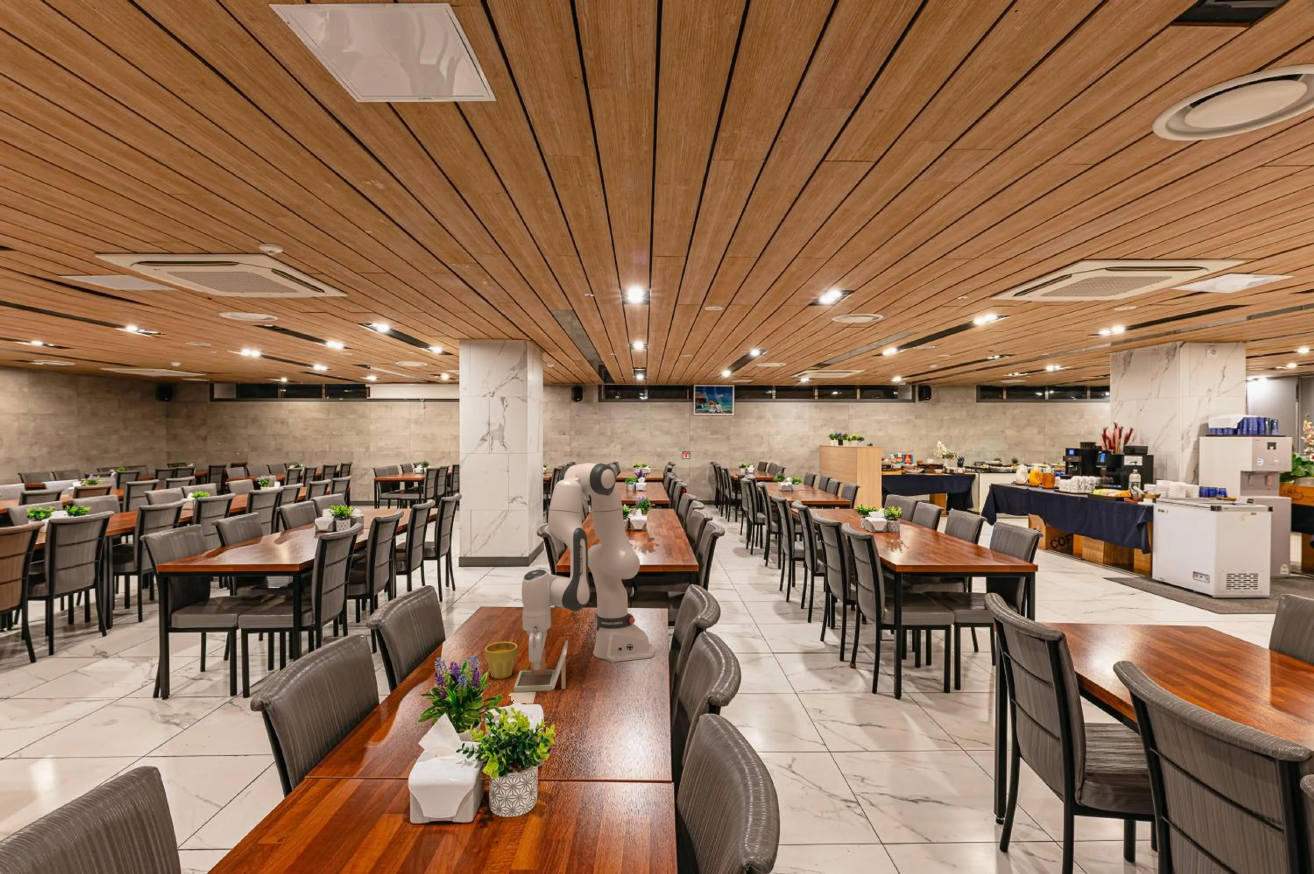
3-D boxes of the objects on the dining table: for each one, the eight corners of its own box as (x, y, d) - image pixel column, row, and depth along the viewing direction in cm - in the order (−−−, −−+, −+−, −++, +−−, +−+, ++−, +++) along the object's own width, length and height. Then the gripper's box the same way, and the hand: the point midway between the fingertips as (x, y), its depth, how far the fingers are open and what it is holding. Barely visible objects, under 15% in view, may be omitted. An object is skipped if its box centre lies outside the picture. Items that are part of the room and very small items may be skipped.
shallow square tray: (555, 675, 201) (555, 669, 201) (552, 692, 187) (552, 685, 187) (519, 676, 200) (519, 670, 200) (513, 693, 186) (513, 687, 186)
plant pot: (509, 683, 194) (508, 652, 194) (479, 681, 196) (479, 650, 197) (522, 671, 205) (522, 642, 205) (494, 669, 207) (493, 640, 207)
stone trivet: (536, 694, 186) (535, 691, 186) (533, 705, 178) (533, 702, 178) (509, 695, 185) (509, 692, 185) (505, 706, 177) (505, 704, 177)
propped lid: (568, 674, 201) (568, 639, 201) (566, 691, 188) (565, 654, 188) (554, 675, 201) (554, 640, 201) (551, 692, 187) (551, 654, 187)
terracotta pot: (546, 668, 197) (546, 647, 197) (545, 675, 192) (545, 653, 192) (531, 670, 196) (530, 648, 196) (529, 676, 191) (528, 654, 191)
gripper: (544, 632, 184) (545, 677, 184) (549, 612, 204) (550, 653, 204) (523, 633, 183) (524, 679, 183) (530, 613, 204) (531, 654, 204)
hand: (538, 665), depth 194 cm, fingers closed on terracotta pot, 4 cm apart
